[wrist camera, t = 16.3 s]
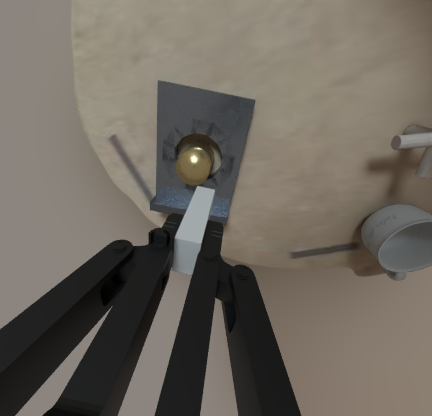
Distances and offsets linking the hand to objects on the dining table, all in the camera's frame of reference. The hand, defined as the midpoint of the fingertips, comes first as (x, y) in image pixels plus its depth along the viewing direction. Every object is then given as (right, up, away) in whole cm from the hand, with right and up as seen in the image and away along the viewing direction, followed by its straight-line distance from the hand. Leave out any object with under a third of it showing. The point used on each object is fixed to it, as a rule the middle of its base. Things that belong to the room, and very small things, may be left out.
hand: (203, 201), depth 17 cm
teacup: (+33, -4, +22) cm, 40 cm away
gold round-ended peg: (-2, +9, +18) cm, 20 cm away
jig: (-2, +9, +18) cm, 20 cm away
